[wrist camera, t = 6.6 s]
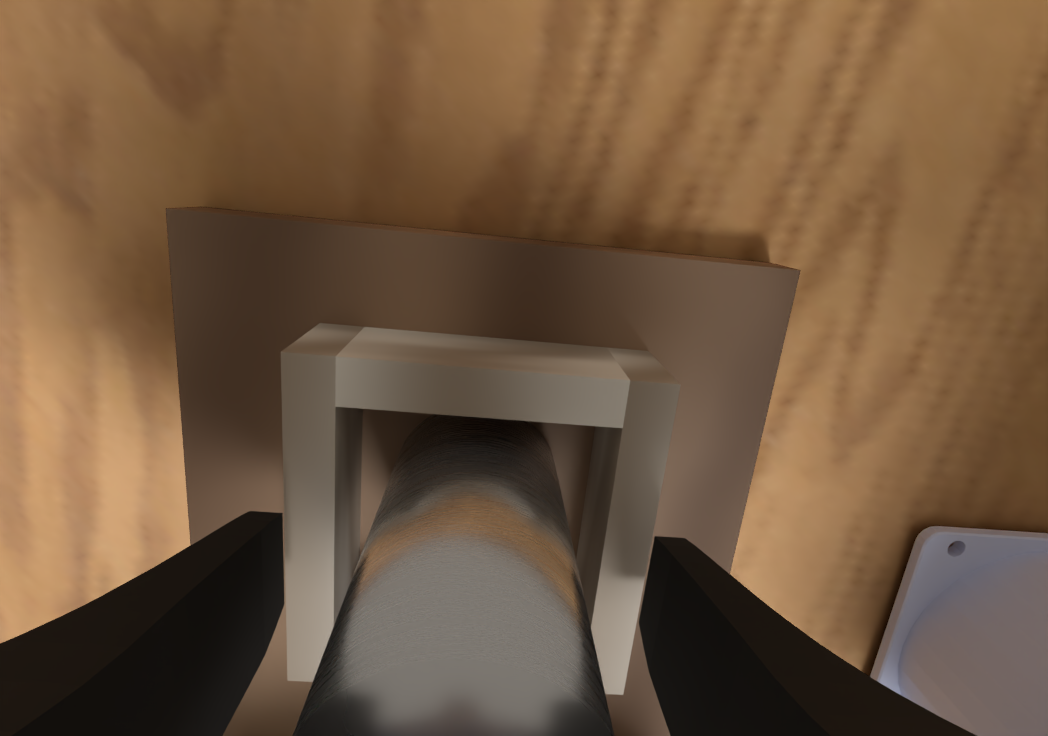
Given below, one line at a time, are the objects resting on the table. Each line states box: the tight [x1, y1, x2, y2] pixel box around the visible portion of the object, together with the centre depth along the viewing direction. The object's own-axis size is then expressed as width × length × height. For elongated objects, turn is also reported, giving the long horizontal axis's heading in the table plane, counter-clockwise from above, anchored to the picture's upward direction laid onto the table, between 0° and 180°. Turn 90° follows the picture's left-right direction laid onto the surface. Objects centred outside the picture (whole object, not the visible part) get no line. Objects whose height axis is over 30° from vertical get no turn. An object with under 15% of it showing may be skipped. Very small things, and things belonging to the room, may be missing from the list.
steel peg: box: [293, 414, 614, 736], centre depth 11 cm, size 4×4×8 cm
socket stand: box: [166, 207, 800, 736], centre depth 12 cm, size 14×19×10 cm
